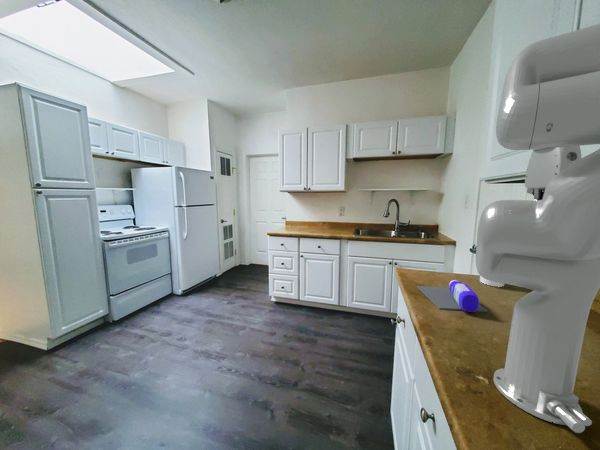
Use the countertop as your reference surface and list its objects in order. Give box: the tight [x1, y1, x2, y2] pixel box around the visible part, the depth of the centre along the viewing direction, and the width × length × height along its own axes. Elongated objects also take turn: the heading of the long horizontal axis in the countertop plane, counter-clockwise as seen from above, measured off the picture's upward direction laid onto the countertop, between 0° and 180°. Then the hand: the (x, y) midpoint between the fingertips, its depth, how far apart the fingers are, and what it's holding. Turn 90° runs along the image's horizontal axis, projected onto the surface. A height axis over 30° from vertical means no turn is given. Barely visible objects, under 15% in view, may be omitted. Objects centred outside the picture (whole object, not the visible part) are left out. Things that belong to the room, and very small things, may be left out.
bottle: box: [449, 279, 480, 313], centre depth 87 cm, size 7×6×17 cm
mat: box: [416, 285, 489, 313], centre depth 92 cm, size 20×16×1 cm
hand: (543, 216), depth 61 cm, fingers closed
